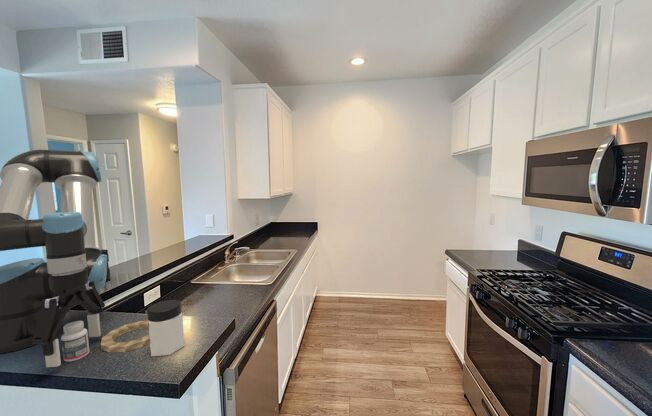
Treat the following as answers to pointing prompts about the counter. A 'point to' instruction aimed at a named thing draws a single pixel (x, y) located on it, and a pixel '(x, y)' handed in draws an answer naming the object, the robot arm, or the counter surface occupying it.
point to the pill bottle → (74, 341)
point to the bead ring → (114, 347)
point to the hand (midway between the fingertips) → (76, 349)
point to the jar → (165, 327)
